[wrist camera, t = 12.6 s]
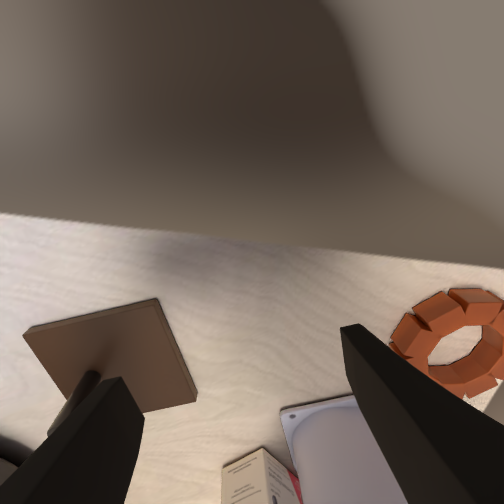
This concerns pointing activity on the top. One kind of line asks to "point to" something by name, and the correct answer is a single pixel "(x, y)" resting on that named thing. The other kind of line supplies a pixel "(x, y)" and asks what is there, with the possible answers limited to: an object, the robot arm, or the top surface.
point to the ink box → (259, 482)
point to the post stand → (114, 357)
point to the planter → (6, 470)
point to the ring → (445, 322)
